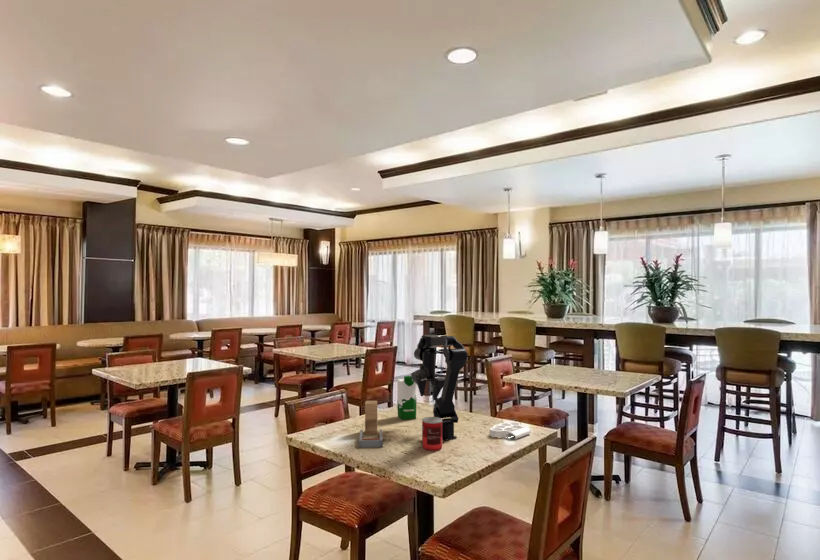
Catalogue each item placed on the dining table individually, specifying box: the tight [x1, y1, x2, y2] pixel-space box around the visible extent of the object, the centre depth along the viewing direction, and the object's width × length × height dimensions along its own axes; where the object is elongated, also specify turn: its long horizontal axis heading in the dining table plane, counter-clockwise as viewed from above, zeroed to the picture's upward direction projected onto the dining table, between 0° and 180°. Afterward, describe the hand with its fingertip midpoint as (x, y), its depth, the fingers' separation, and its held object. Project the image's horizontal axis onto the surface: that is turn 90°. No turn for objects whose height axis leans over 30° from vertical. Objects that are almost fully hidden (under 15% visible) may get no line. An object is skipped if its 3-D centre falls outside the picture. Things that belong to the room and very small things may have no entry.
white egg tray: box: [489, 421, 532, 440], centre depth 205 cm, size 3×18×15 cm
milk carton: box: [396, 375, 418, 421], centre depth 232 cm, size 9×9×20 cm
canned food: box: [421, 416, 443, 452], centre depth 186 cm, size 8×8×11 cm
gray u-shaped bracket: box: [358, 429, 384, 448], centre depth 194 cm, size 15×9×2 cm, turn 4°
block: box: [364, 400, 378, 435], centre depth 206 cm, size 5×5×13 cm
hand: (428, 398), depth 215 cm, fingers open, 9 cm apart
